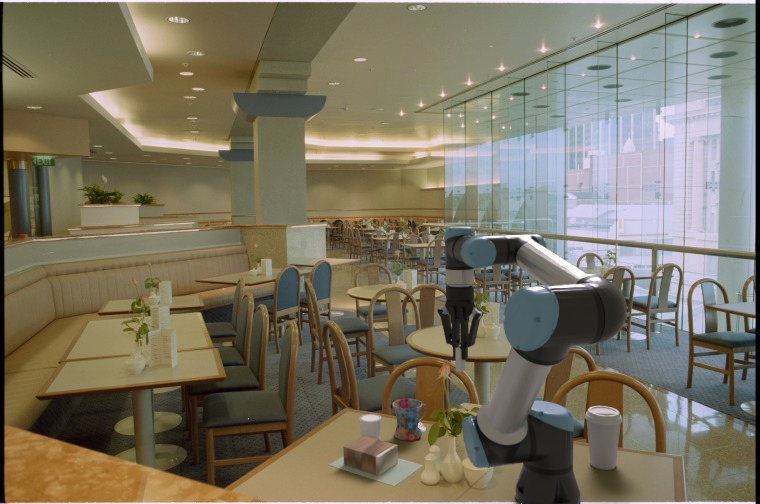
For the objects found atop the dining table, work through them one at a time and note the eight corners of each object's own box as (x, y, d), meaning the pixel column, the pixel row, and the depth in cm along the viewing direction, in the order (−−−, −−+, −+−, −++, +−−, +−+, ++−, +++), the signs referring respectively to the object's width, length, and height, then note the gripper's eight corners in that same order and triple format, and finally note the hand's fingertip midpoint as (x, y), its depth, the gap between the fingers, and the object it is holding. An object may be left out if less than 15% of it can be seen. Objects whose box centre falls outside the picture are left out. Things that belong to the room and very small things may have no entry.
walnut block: (397, 445, 162) (363, 435, 169) (378, 457, 155) (343, 446, 162) (398, 462, 163) (363, 452, 170) (379, 475, 155) (343, 464, 162)
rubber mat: (423, 467, 161) (423, 465, 161) (394, 488, 150) (394, 485, 150) (359, 448, 174) (359, 446, 174) (328, 466, 162) (328, 464, 162)
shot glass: (356, 437, 182) (355, 415, 181) (376, 433, 184) (375, 412, 184) (365, 446, 175) (364, 423, 175) (385, 441, 178) (385, 419, 178)
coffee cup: (581, 468, 158) (582, 414, 157) (587, 454, 167) (587, 402, 165) (619, 475, 154) (620, 419, 152) (623, 460, 162) (624, 407, 161)
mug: (403, 445, 175) (402, 411, 174) (387, 435, 183) (386, 402, 182) (436, 437, 181) (435, 403, 180) (419, 427, 189) (418, 395, 188)
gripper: (488, 284, 157) (488, 371, 159) (445, 281, 164) (446, 364, 166) (475, 288, 151) (476, 378, 153) (431, 284, 158) (432, 370, 160)
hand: (460, 370), depth 159 cm, fingers closed
